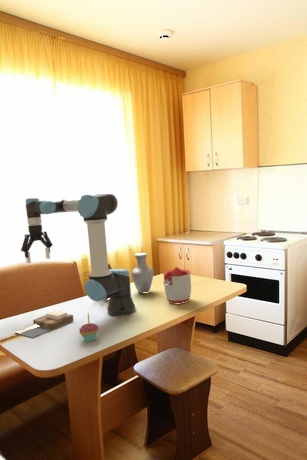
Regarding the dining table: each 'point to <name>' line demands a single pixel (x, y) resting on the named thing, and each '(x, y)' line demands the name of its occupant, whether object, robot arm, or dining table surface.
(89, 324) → the cupcake
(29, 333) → the mat
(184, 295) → the citrus juicer
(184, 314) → the dining table surface
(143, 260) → the vase
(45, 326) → the board
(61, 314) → the tile
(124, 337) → the dining table surface
